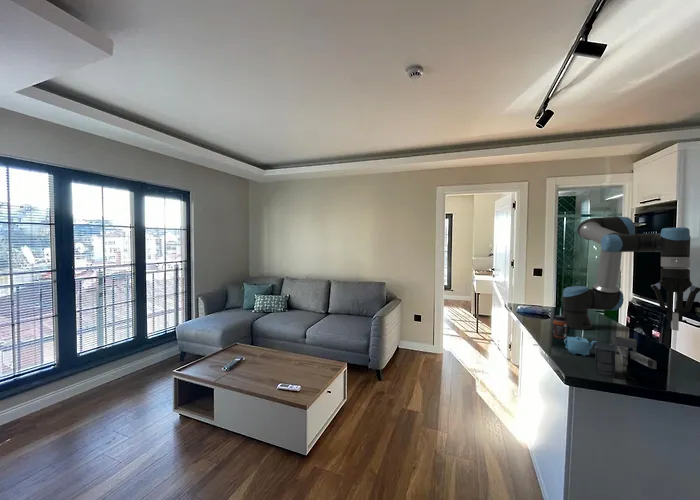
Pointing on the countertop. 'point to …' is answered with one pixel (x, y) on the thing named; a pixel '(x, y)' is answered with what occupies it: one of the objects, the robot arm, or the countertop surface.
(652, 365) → the tongs jaw
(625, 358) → the tongs fixed
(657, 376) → the countertop surface
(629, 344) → the collar
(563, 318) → the supplement bottle
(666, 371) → the countertop surface
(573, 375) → the countertop surface
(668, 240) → the robot arm
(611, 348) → the box
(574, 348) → the blue teapot
